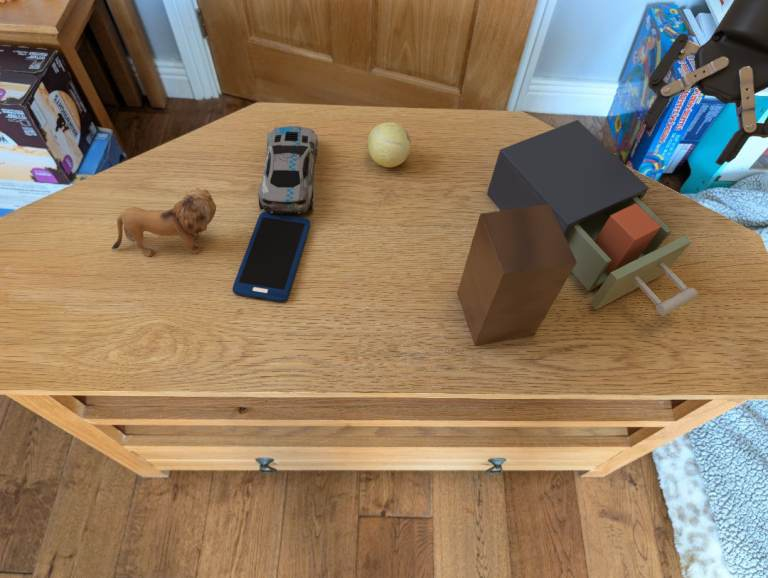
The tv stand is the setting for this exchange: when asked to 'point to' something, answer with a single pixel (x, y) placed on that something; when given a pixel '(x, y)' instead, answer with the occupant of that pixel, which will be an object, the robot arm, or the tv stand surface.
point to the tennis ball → (389, 144)
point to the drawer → (632, 274)
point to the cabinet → (563, 176)
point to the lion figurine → (169, 221)
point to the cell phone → (272, 257)
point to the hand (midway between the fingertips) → (682, 146)
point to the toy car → (289, 171)
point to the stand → (513, 273)
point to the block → (626, 236)
